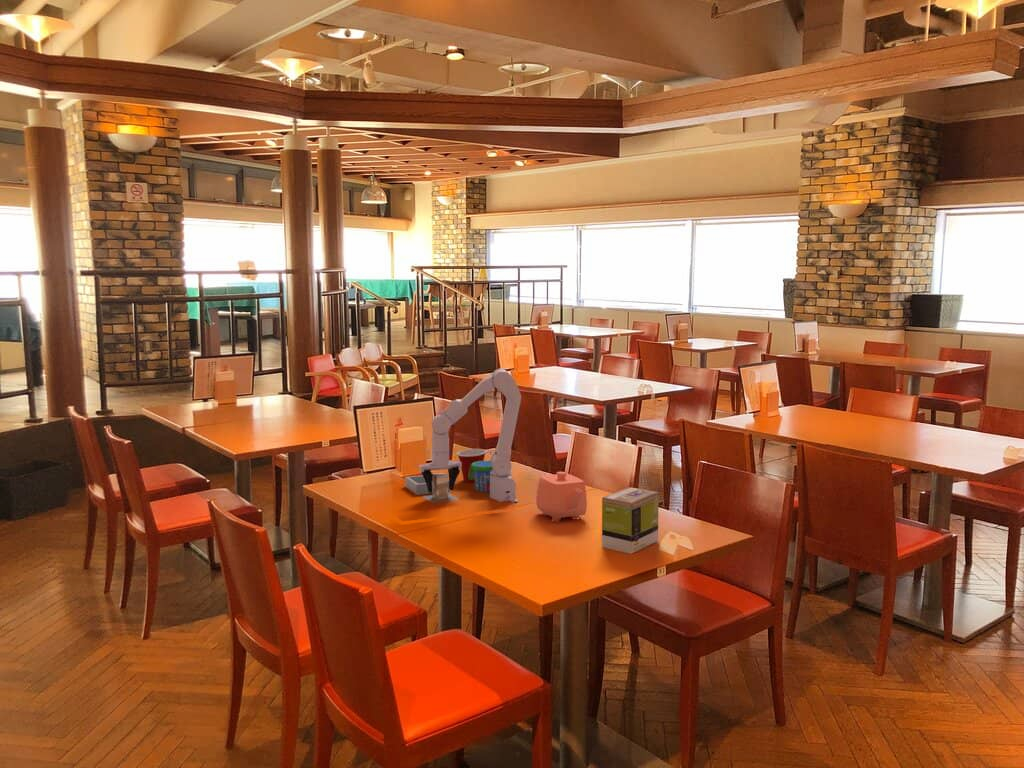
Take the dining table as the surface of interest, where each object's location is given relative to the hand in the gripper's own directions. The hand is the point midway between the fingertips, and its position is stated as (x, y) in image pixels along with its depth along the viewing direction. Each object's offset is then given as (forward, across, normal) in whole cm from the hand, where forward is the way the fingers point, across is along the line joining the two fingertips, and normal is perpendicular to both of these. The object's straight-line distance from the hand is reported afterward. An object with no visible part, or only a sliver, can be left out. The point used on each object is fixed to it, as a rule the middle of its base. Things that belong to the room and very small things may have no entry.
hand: (440, 490), depth 275 cm
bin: (+3, 0, -13) cm, 13 cm away
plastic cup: (+4, -19, -18) cm, 26 cm away
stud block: (+3, 0, 0) cm, 3 cm away
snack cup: (+3, -19, -4) cm, 20 cm away
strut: (+2, 0, 0) cm, 2 cm away
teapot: (+4, -28, +33) cm, 43 cm away
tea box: (+4, -32, +65) cm, 73 cm away
